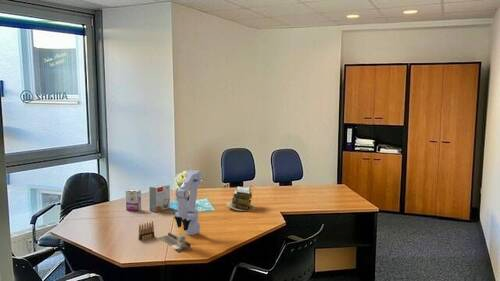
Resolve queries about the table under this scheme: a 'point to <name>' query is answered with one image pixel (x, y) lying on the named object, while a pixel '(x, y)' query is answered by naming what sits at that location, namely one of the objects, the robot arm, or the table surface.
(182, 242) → the block
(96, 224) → the table surface
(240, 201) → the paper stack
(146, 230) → the ammunition clip
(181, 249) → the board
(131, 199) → the candy bar box
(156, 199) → the hard drive box
